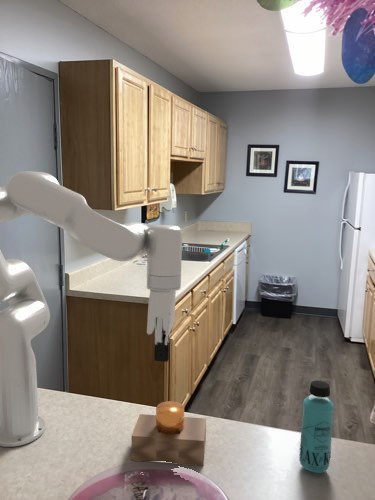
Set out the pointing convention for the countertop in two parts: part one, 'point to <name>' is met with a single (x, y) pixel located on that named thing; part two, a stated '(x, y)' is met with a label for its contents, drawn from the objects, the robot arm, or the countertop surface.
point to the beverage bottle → (316, 428)
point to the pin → (170, 417)
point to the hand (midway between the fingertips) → (161, 359)
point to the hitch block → (169, 442)
